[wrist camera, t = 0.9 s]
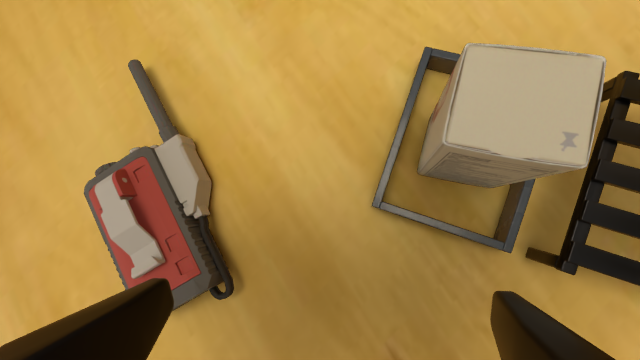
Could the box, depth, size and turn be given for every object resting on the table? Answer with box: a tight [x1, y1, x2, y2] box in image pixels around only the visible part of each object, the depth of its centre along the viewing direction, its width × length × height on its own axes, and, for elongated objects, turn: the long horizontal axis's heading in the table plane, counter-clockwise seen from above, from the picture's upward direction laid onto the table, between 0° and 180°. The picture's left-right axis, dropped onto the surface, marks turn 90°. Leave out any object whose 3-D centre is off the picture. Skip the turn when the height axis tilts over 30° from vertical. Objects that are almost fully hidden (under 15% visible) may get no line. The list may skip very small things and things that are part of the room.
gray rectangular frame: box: [372, 47, 535, 253], centre depth 20 cm, size 9×11×2 cm
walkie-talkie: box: [84, 60, 234, 311], centre depth 23 cm, size 9×4×20 cm
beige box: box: [417, 43, 606, 188], centre depth 16 cm, size 5×4×10 cm
